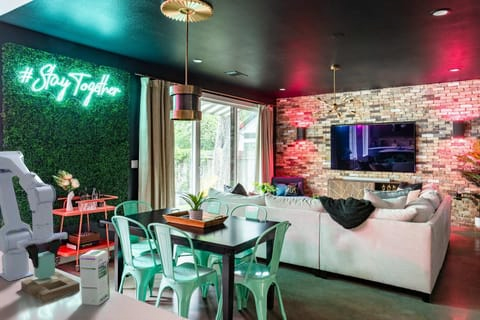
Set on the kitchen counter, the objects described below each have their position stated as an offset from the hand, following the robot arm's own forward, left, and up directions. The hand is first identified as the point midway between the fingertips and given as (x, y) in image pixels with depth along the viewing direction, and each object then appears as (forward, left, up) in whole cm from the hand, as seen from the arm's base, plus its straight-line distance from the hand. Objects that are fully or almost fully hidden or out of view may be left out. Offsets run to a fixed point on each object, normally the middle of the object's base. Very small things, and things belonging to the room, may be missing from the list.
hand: (44, 265), depth 115 cm
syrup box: (+23, +5, -7) cm, 24 cm away
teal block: (0, 0, -3) cm, 3 cm away
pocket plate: (+4, 0, -7) cm, 8 cm away
